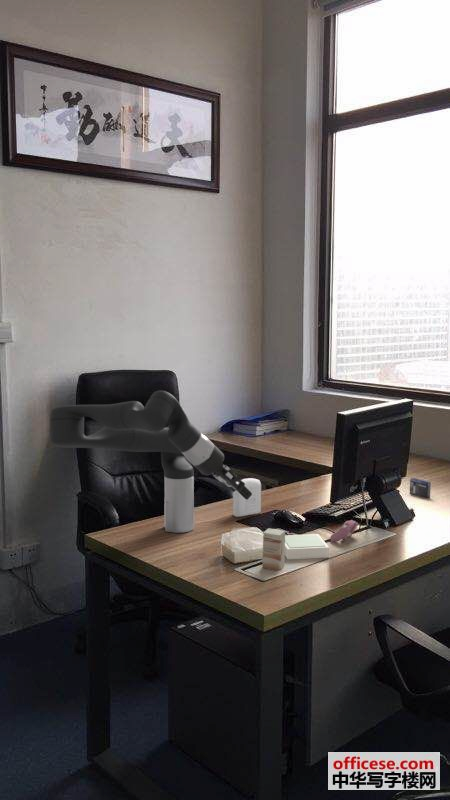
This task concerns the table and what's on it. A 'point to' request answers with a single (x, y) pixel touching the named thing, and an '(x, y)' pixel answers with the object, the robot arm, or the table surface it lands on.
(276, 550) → the skincare box
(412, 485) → the mini dv tape
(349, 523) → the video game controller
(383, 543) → the table surface
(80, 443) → the robot arm
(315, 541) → the plinth
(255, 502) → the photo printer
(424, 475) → the table surface
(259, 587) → the table surface
